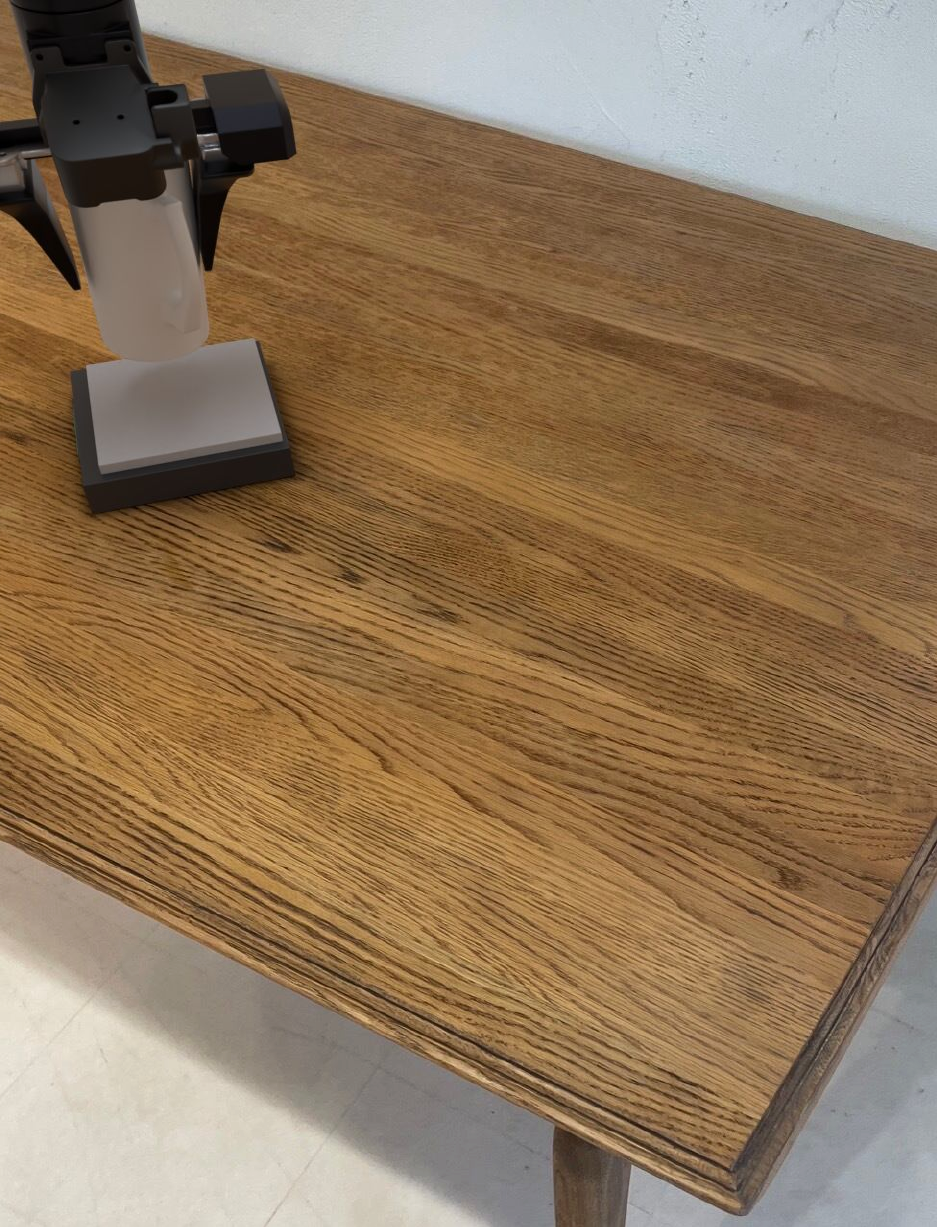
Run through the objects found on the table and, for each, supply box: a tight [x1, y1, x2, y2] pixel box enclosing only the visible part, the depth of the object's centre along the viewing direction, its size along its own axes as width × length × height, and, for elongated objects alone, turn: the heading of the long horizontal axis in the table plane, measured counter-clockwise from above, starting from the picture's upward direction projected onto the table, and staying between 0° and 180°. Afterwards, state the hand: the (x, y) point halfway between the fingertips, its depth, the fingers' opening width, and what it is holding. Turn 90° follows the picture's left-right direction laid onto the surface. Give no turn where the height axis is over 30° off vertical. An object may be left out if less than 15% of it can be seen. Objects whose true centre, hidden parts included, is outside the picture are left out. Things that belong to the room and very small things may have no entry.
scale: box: [69, 337, 296, 515], centre depth 81 cm, size 12×12×3 cm
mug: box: [67, 160, 211, 362], centre depth 73 cm, size 10×7×12 cm, turn 40°
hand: (143, 277), depth 74 cm, fingers closed on mug, 7 cm apart
